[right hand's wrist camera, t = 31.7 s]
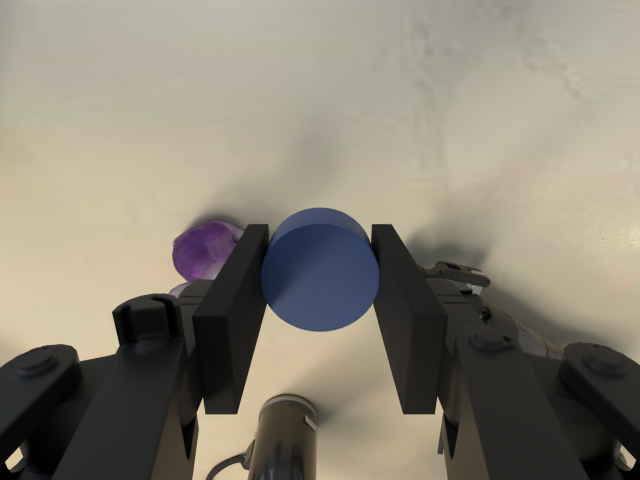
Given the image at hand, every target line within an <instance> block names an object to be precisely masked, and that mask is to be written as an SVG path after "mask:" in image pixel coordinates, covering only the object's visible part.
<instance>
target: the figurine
mask: <svg viewBox="0 0 640 480" xmlns="http://www.w3.org/2000/svg"><path fill="white" fill-rule="evenodd" d="M243 233H244V231H243V230H242V229H240V228H237V227H236V226H234V225H232V224H230V223H227V222H224V221H222V220H212V221H210V222H208V223H206V224H204V225H201V226H199V227H195V228H192V229H190V230H188V231H186V232H185V233H183V234H182V235H180V236H178V237H177V238H176V239H175V240H174V241H173V243H172V244H173V247H174V249H173V253H172V257H173V263H174V266H175V268H176V270H177V272H178V273H179V274H180V275H181V276H182V277H183V278H185V279H186V280H187V281H188V282H187V283H184V284H181V285H178V286H177V287H175V288H173V289H172V290H171V291H170V292H169V293H168V294H169V295H173V296H175V297H176V298H178V296H179V294H180V293H181V292H182V290H183V289H184V288H185V287H186V286H188V285H189V284H191V283H192V282H194V281H196V280H197V279H215V278H216V276H217V275H218V273H219V271H220V270H221V268H222V267H223V265H224V263H225V262H226V260H227V259H228V257H229V255H230V254H231V252H232V250H233V249H234V247H235V246H236V244H237V242H238V241H239V239H240V237H241V236H242V234H243Z"/></svg>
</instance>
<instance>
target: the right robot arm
mask: <svg viewBox="0 0 640 480" xmlns="http://www.w3.org/2000/svg"><path fill="white" fill-rule="evenodd" d="M268 246H269V230H268V224H249V225H248V226H247V228H246V229H245V231H244V233H243V234H242V236H241V237H240V239H239V241H238V242H237V244H236V246H235V247H234V249H233V250H232V252H231V254H230V255H229V257H228V259H227V260H226V262H225V263H224V265H223V267H222V268H221V270H220V271H219V273H218V275H217V276H216V278H215V279H197V280H196V281H194V282H192V283H191V284H189V285H188V286H186V287H185V288H184V289H183V290H182V292H181V293H180V294H179V296H178V298H176V297H175V296H173V295H169V294H149V295H143V296H139V297H136V298H133V299H130V300H128V301H126V302H124V303H122V304H121V305H119V306H118V307H117V308H116V309H115V310H114V311H113V312H112V314H113V318H114V323H115V327H116V331H117V336H118V340H119V345H120V346H119V348H118V350H117V352H116V354H113V355H110V356H105V357H100V358H95V359H90V360H85V361H79V357H78V354H77V350H76V349H74V348H73V347H72V346H69V345H63V344H58V345H46V346H41V347H38V348H34V349H32V350H30V351H28V352H26V353H23V354H21V355H19V356H17V357H15V358H14V359H12V360H11V361H9V362H8V363H6V364H5V365H3V366H2V367H1V368H0V480H192V477H193V469H194V462H195V454H196V447H197V439H198V431H199V427H198V419H197V411H198V408H199V406H200V403H201V401H202V398H203V400H204V407H205V414H237V412H238V409H239V405H240V401H241V398H242V394H243V390H244V387H245V383H246V379H247V376H248V372H249V368H250V364H251V361H252V357H253V353H254V350H255V346H256V342H257V339H258V335H259V331H260V328H261V324H262V320H263V317H264V313H265V309H266V306H267V302H266V300H265V298H264V295H263V293H262V281H261V265H262V262H263V259H264V256H265V254H266V251H267V249H268ZM371 246H372V248H373V251H374V254H375V256H376V259H377V262H378V265H379V285H378V293H377V296H376V298H375V300H374V302H373V305H374V308H375V312H376V316H377V319H378V323H379V327H380V330H381V334H382V338H383V342H384V345H385V349H386V353H387V356H388V360H389V364H390V367H391V371H392V375H393V378H394V382H395V386H396V389H397V393H398V397H399V400H400V404H401V408H402V411H403V414H435V409H436V402H437V396H438V398H439V401H440V403H441V406H442V408H443V410H444V413H443V419H442V426H441V432H440V439H439V445H438V453H437V454H443V448H444V453H445V461H446V468H447V476H448V480H640V365H639V364H638V363H636V362H635V361H633V360H632V359H630V358H628V357H627V356H625V355H624V354H622V353H619V352H617V351H614V350H612V349H611V348H609V347H606V346H602V345H601V346H600V345H598V344H593V343H580V342H579V343H574V344H569V345H568V346H567V347H566V348H564V351H563V355H562V359H561V360H559V359H554V358H549V357H544V356H539V355H533V354H529V353H526V352H524V351H523V349H522V348H521V346H520V344H519V343H518V342H517V341H516V340H515V338H513V337H512V336H510V335H509V334H507V333H506V332H504V331H502V330H499V329H497V328H494V327H490V326H486V325H485V324H484V323H483V321H482V320H481V319H480V317H479V316H478V315H477V313H476V312H475V311H474V309H473V308H472V307H471V306H470V304H468V302H467V300H466V299H465V298H464V297H462V294H461V292H460V291H459V290H458V289H457V287H456V286H455V285H453V284H452V283H450V282H448V281H447V280H445V279H443V278H425V277H424V276H423V274H422V273H421V271H420V269H419V268H418V266H417V265H416V263H415V261H414V260H413V258H412V256H411V255H410V253H409V252H408V250H407V248H406V247H405V245H404V244H403V242H402V240H401V239H400V237H399V235H398V234H397V232H396V231H395V229H394V227H393V226H392V224H372V235H371ZM622 445H623V446H624V447H625V448H626V449H627V451H628V452H629V453H630V454H631V455H632V456H633V457H634V458H635V459H636V462H635V464H634V467H633V468H632V469H631V468H629V467H628V466H627V465H626V464H625V463H624V462H623V461H622V460H621V459H620V458H619V457H618V453H619V451H620V448H621V446H622ZM18 447H20V450H21V453H22V455H23V458H22V459H21V460H20V461H19V463H18V464H17V465H15V466H14V467H13V468H12V469H10V470H9V469H8V468H7V466H6V464H5V461H6V460H7V459H8V458H9V457H10V456H11V455H12V454H13V453H14V452H15V450H16V449H17V448H18Z"/></svg>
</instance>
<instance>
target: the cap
mask: <svg viewBox="0 0 640 480" xmlns="http://www.w3.org/2000/svg"><path fill="white" fill-rule="evenodd" d="M261 281H262V293H263V295H264V298H265V300H266V302H267V303H268V305H269V307H270V308H271V309H272V310H273V312H274V313H275V314H276V315H278V316H279V317H280V318H281V319H282V320H284V321H285V322H287V323H289V324H290V325H292V326H295V327H297V328H300V329H304V330H308V331H318V332H322V331H332V330H336V329H340V328H343V327H345V326H348V325H350V324H351V323H353V322H355V321H356V320H358V319H359V318H360V317H361V316H363V315H364V314H365V313H366V312H367V310H368V309H369V308H370V307H371V305H372V303H373V302H374V300H375V298H376V296H377V293H378V285H379V265H378V262H377V259H376V256H375V254H374V251H373V248H372V246H371V243H370V240H369V238H368V236H367V234H366V232H365V231H364V229H363V228H362V227H361V225H360V224H359V223H358V222H357V221H355V220H354V219H353V218H352V217H350V216H349V215H347V214H345V213H343V212H341V211H338V210H335V209H330V208H310V209H306V210H302V211H299V212H297V213H295V214H293V215H291V216H290V217H288V218H287V219H286V220H285V221H283V222H282V223H281V224H280V226H279V227H278V228H277V229H276V231H275V232H274V234H273V236H272V238H271V241H270V243H269V246H268V249H267V251H266V254H265V256H264V259H263V262H262V265H261Z"/></svg>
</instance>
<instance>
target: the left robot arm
mask: <svg viewBox="0 0 640 480" xmlns="http://www.w3.org/2000/svg"><path fill="white" fill-rule="evenodd" d="M416 265H417V264H416ZM417 266H418V268H419V269H420V271H421V273H422V274H423V276H424V277H425V278H443V279H444V278H446V279H450V280H454V281H459V282H463V283H465V284H466V285H467V286H468V287H469V288H470V290H459V291H460V292H461V294H462V297H464V298H465V299H466V300H467V302H468V304H470V306H471V307H472V308H473V309H474V311H475V312H476V313H477V315H478V316H479V317H480V319H481V320H482V321H483V323H484V324H485V325H486V326H490V327H494V328H497V329H499V330H502V331H504V332H506V333H507V334H509V335H510V336H512V337H513V338H515V340H516V341H517V342H518V343H519V344H520V346H521V348H522V349H523V351H524V352H526V353H529V354H533V355H539V356H544V357H549V358H554V359H559V360H561V359H562V355H563V351H564V349H562V348H560V347H559V346H557V345H556V344H554V343H552V342H551V341H549V340H547V339H545V338H544V337H542V336H540V335H538V334H537V333H535V332H534V331H533V330H532V329H530V328H529V327H528V326H526V325H525V324H523V323H521V322H520V321H518V320H516V319H514V318H513V317H511V316H509V315H507V314H506V313H504V312H502V311H500V310H499V309H497V308H495V307H493V306H492V305H490V304H488V303H486V302H485V301H483V300H482V298H481V297H480V296H479V295H480V293H481V291H482V288H483V287H487V286H488V285H489V284H490V280H489V279H488V278H487V276H486V275H485V274H484V273H482V272H481V271H480V270H478V269H474V268H470V267H466V266H461V265H457V264H453V263H449V262H444V261H438V262H437V263H436V265H435V267H433V268H432V269H430V270H426V269H424V268H422V267H421V266H419V265H417ZM316 449H317V412H316V410H315V408H314V407H313V405H312V404H311V403H310V402H308V401H307V400H305V399H303V398H301V397H298V396H294V395H281V396H277V397H274V398H272V399H270V400H269V401H267V402H266V403H265V404H264V405H263V407H262V409H261V411H260V415H259V423H258V429H257V433H256V439H254V440H253V441H252V443H251V444H250V446H249V447H248V449H247V452H246V457H243V456H235V457H232V458H230V459H227V460H225V461H224V462H222V463H221V464H219V465H218V466H217V467H215V468H214V469H213V470H212V471H211V472H210V473H209V474H208V476H207V478H206V480H212V479H213V477H214V476H215V475H216V474H217V473H218V472H220V471H221V470H222V469H224V468H226V467H227V466H229V465H231V464H234V463H241V465H242V467H243V468H244V469H246V470H249V475H248V480H316ZM618 457H619V458H620V459H621V460H622V461H623V462H624V463H625V464H626V459H625V457H624V455H623V453H622V452H621V451H619V453H618ZM626 465H627V464H626Z"/></svg>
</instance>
